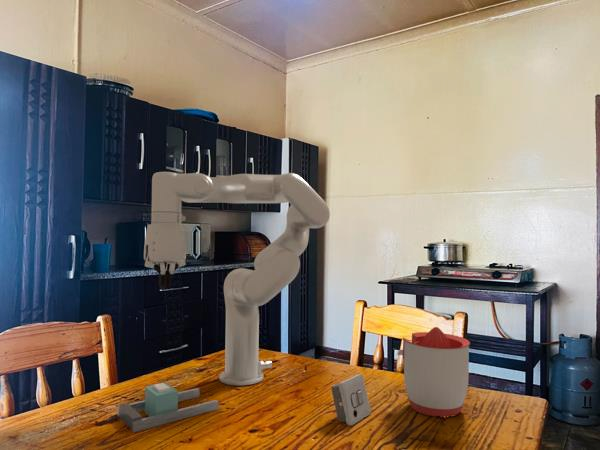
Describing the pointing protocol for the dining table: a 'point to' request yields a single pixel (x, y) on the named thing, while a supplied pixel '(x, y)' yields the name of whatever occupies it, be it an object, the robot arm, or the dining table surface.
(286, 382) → the dining table surface
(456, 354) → the citrus juicer
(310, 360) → the dining table surface
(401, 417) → the dining table surface
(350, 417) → the electrical switch
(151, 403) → the block
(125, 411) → the rail channel
